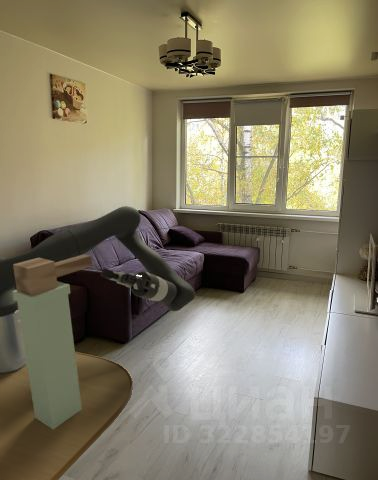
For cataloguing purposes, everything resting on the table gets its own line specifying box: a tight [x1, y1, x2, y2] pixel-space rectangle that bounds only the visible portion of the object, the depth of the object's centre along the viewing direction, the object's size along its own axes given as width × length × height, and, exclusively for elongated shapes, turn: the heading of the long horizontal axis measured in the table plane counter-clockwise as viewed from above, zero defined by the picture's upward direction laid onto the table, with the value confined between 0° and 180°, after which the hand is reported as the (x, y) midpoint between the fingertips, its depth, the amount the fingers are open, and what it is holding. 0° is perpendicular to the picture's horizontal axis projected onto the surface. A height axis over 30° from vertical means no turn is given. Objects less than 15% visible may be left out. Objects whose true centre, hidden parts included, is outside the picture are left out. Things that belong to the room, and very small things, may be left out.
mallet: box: [13, 253, 93, 296], centre depth 84 cm, size 6×17×6 cm, turn 143°
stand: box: [13, 280, 83, 430], centre depth 85 cm, size 8×9×32 cm
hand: (113, 274), depth 98 cm, fingers open, 8 cm apart
